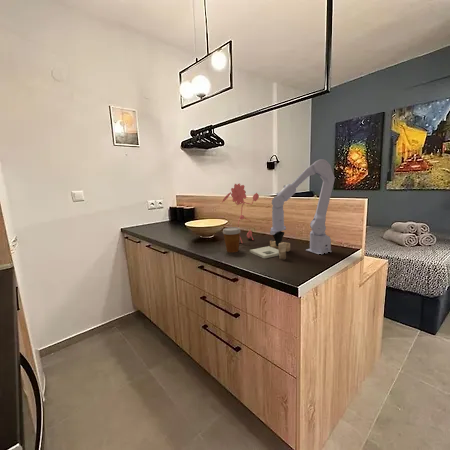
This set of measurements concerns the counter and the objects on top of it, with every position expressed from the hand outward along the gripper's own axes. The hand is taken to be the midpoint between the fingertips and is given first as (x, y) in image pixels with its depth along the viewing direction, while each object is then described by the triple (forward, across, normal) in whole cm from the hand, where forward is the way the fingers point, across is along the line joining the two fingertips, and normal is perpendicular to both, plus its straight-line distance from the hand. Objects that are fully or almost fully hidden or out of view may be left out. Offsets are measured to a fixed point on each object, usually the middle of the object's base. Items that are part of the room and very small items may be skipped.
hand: (278, 245), depth 129 cm
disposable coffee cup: (+3, +11, -21) cm, 24 cm away
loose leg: (+2, +11, +7) cm, 13 cm away
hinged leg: (+2, -2, 0) cm, 3 cm away
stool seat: (+2, +7, -3) cm, 8 cm away
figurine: (+3, -11, -30) cm, 32 cm away
